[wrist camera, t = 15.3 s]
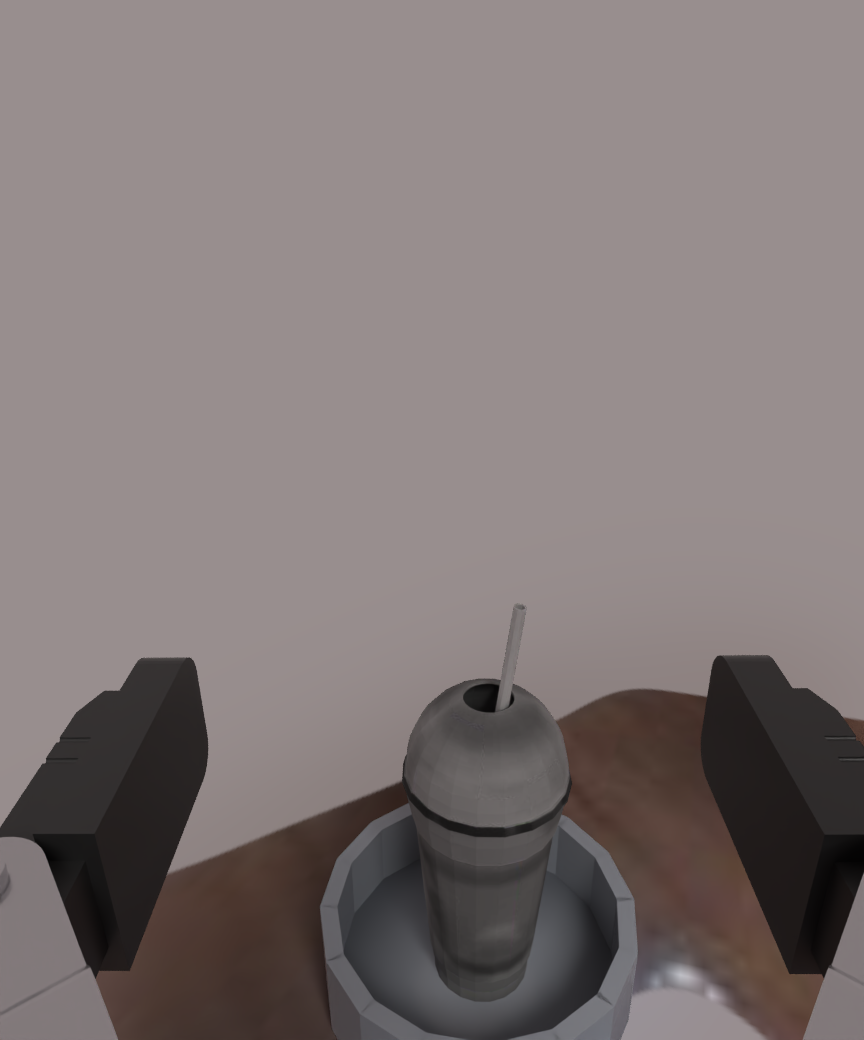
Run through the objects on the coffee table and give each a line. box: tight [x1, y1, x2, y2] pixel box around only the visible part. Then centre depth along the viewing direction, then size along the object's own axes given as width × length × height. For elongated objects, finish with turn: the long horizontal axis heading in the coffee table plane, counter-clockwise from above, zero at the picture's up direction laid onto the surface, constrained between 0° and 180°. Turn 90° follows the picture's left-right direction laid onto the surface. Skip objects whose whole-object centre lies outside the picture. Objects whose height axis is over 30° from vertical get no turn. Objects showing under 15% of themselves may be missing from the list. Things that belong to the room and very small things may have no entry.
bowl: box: [320, 803, 638, 1040], centre depth 38 cm, size 15×15×4 cm
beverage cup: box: [402, 604, 572, 1002], centre depth 35 cm, size 7×7×20 cm
